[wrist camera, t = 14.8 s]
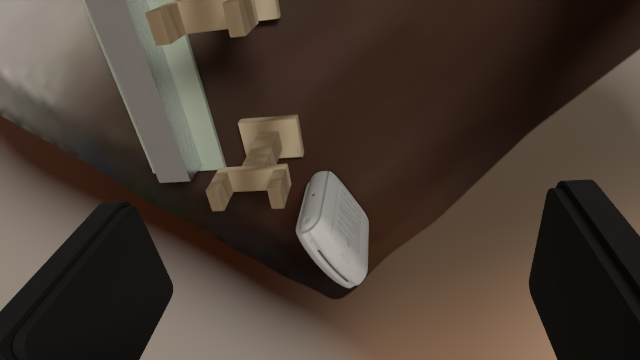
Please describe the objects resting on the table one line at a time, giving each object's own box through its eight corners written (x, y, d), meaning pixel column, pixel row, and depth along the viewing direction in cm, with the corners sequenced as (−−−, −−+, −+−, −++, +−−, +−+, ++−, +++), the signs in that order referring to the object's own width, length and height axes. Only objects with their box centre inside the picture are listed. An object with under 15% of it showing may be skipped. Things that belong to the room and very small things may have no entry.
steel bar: (138, -26, 41) (117, -20, 37) (201, 164, 52) (190, 181, 49) (102, -21, 41) (78, -14, 38) (172, 165, 53) (159, 182, 50)
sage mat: (164, -42, 40) (162, -41, 40) (226, 166, 53) (225, 169, 52) (74, -28, 42) (70, -27, 41) (155, 171, 54) (153, 173, 54)
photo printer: (302, 179, 53) (285, 244, 42) (329, 163, 51) (319, 227, 41) (346, 231, 57) (341, 302, 47) (373, 219, 55) (373, 289, 45)
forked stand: (272, -39, 39) (233, -19, 28) (305, 151, 50) (286, 218, 39) (201, -29, 40) (138, -6, 29) (249, 155, 52) (216, 221, 41)
